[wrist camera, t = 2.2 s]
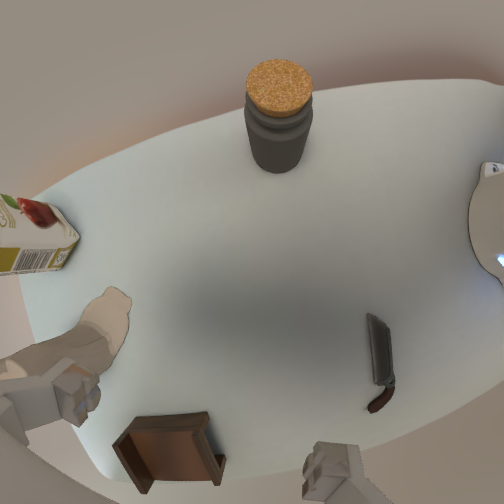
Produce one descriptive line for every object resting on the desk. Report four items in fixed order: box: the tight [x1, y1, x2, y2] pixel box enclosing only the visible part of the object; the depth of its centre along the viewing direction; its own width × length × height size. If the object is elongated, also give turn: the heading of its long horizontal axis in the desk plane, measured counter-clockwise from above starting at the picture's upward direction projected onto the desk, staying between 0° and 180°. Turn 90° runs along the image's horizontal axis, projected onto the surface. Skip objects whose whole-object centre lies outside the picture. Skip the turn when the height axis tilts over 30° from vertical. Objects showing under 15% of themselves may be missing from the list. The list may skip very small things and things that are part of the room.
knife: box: [368, 313, 395, 413], centre depth 32 cm, size 14×4×1 cm, turn 12°
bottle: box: [244, 59, 313, 173], centre depth 26 cm, size 6×6×15 cm
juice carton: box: [0, 194, 80, 276], centre depth 26 cm, size 8×9×19 cm
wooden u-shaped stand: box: [112, 412, 226, 494], centre depth 30 cm, size 11×9×8 cm
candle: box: [0, 287, 132, 380], centre depth 25 cm, size 7×14×20 cm, turn 145°
